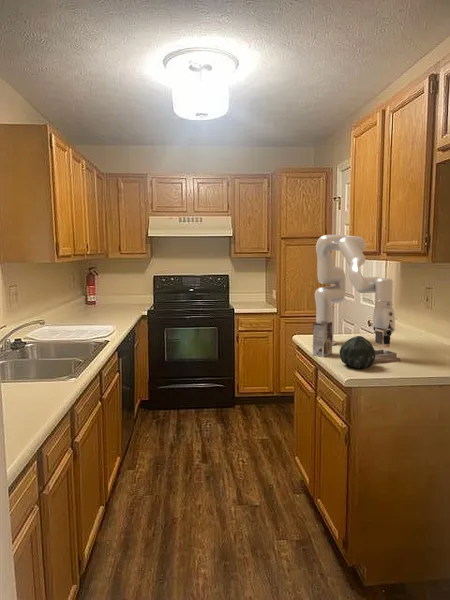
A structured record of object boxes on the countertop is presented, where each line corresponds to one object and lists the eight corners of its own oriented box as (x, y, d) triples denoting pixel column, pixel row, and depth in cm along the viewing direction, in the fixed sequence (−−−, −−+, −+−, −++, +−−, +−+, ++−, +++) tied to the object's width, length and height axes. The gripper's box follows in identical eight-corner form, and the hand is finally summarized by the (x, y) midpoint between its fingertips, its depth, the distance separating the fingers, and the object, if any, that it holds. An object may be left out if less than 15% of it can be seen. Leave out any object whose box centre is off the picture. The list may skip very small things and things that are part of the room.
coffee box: (320, 352, 217) (321, 320, 215) (332, 353, 213) (333, 321, 211) (312, 355, 210) (312, 323, 208) (324, 357, 206) (324, 324, 204)
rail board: (353, 357, 204) (354, 345, 204) (380, 354, 210) (381, 342, 209) (372, 364, 192) (372, 350, 191) (400, 360, 198) (400, 347, 197)
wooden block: (382, 345, 204) (382, 328, 203) (389, 347, 200) (390, 330, 199) (374, 345, 203) (375, 329, 202) (382, 348, 198) (382, 331, 197)
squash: (350, 348, 200) (343, 327, 191) (382, 354, 191) (376, 332, 182) (339, 372, 193) (331, 352, 184) (372, 379, 184) (365, 359, 175)
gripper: (403, 306, 193) (402, 345, 194) (377, 302, 209) (376, 339, 210) (390, 306, 190) (389, 347, 192) (364, 303, 206) (364, 340, 208)
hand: (382, 342), depth 201 cm, fingers closed on wooden block, 4 cm apart
